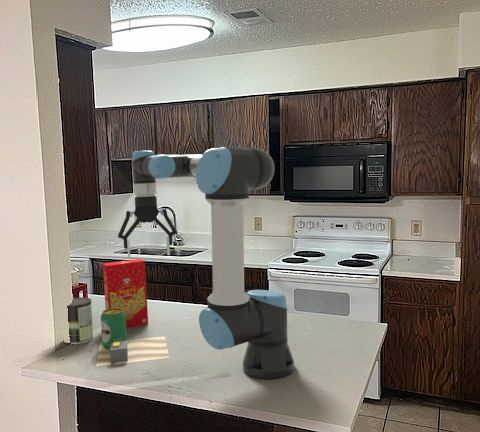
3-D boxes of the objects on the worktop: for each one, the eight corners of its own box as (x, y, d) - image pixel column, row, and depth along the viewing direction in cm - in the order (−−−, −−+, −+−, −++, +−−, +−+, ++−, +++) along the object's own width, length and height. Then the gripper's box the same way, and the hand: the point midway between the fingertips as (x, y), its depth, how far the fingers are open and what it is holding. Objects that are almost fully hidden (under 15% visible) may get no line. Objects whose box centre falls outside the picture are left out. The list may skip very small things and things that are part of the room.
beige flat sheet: (169, 361, 150) (169, 357, 150) (96, 370, 145) (96, 366, 145) (165, 339, 169) (164, 336, 169) (100, 346, 165) (100, 343, 165)
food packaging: (110, 331, 180) (106, 265, 178) (106, 327, 185) (102, 263, 182) (148, 324, 187) (144, 260, 185) (143, 320, 192) (140, 258, 189)
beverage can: (97, 346, 161) (95, 312, 160) (117, 339, 167) (115, 306, 166) (112, 352, 156) (109, 316, 155) (132, 344, 162) (130, 310, 161)
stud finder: (127, 360, 149) (126, 346, 148) (110, 362, 147) (110, 348, 147) (127, 352, 155) (127, 338, 155) (111, 354, 154) (111, 340, 154)
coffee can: (64, 346, 166) (61, 306, 164) (62, 337, 175) (60, 299, 174) (95, 341, 170) (92, 302, 169) (92, 332, 179) (89, 295, 178)
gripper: (179, 193, 174) (182, 251, 176) (108, 197, 167) (112, 257, 169) (182, 194, 166) (185, 254, 168) (108, 198, 160) (112, 260, 162)
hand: (149, 256), depth 169 cm, fingers open, 13 cm apart
